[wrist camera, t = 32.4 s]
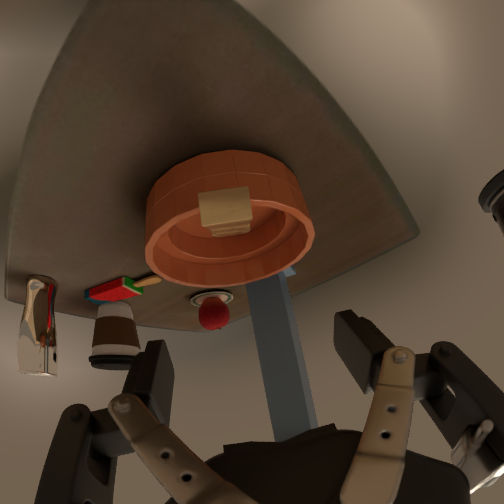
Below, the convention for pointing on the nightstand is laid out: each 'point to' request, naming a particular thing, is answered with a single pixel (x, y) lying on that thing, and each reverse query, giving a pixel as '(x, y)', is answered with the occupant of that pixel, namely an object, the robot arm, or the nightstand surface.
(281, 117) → the nightstand surface
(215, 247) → the bowl
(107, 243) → the nightstand surface
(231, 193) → the stick
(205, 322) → the apple
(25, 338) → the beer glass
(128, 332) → the coffee cup
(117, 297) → the popsicle
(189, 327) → the nightstand surface
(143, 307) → the nightstand surface
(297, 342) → the stand
